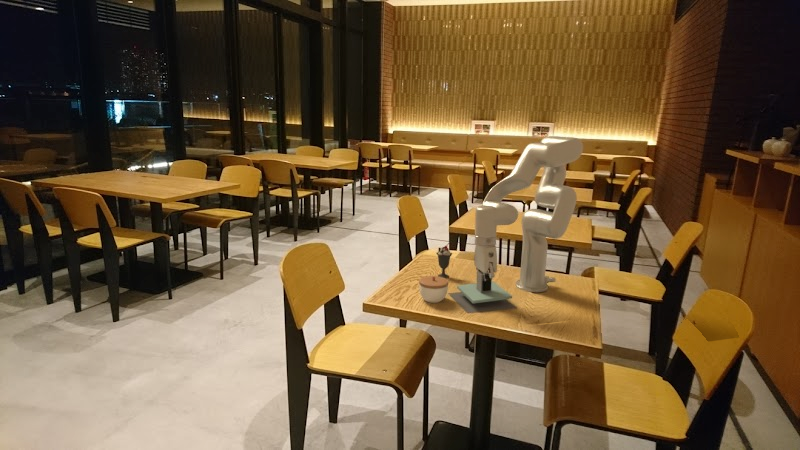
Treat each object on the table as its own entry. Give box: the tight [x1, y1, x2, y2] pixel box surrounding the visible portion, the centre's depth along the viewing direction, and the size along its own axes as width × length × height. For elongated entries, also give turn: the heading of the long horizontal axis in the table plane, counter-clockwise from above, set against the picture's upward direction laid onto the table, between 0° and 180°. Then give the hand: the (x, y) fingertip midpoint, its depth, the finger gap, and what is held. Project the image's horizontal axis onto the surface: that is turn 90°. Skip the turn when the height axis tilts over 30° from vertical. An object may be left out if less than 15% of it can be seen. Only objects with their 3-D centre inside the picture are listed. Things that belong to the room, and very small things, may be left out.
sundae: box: [436, 242, 453, 279], centre depth 199 cm, size 7×7×15 cm
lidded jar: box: [418, 275, 449, 304], centre depth 174 cm, size 11×11×9 cm
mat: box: [447, 291, 518, 314], centre depth 175 cm, size 19×19×1 cm
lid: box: [456, 270, 513, 304], centre depth 173 cm, size 15×15×8 cm
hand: (483, 287), depth 174 cm, fingers closed on lid, 4 cm apart
